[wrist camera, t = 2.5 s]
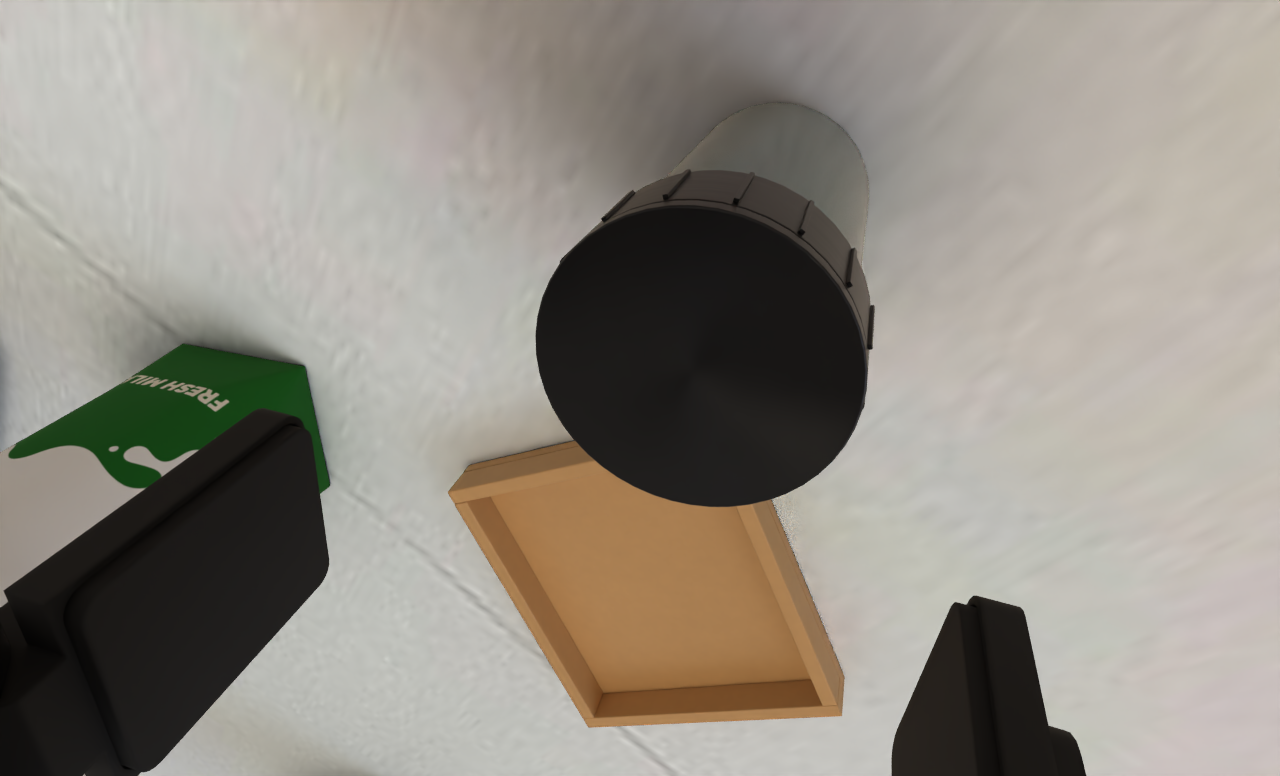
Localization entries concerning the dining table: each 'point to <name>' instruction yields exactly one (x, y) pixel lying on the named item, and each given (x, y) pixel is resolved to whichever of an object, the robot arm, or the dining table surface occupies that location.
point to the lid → (709, 339)
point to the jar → (793, 160)
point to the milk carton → (133, 445)
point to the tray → (651, 594)
